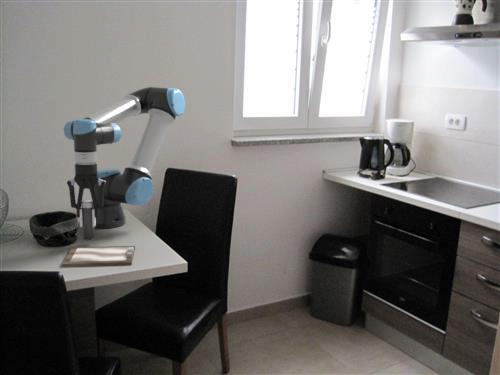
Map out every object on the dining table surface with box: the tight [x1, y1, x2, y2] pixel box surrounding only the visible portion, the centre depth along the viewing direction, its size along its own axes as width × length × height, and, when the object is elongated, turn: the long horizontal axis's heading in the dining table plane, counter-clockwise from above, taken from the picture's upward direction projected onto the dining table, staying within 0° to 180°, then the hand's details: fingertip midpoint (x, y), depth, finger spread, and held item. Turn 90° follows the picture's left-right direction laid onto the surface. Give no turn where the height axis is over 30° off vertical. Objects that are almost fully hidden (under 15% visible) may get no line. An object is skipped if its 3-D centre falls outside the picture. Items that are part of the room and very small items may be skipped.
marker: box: [81, 199, 95, 241], centre depth 175 cm, size 4×4×14 cm
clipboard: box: [62, 245, 136, 268], centre depth 165 cm, size 16×22×2 cm
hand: (88, 225), depth 175 cm, fingers closed on marker, 4 cm apart
